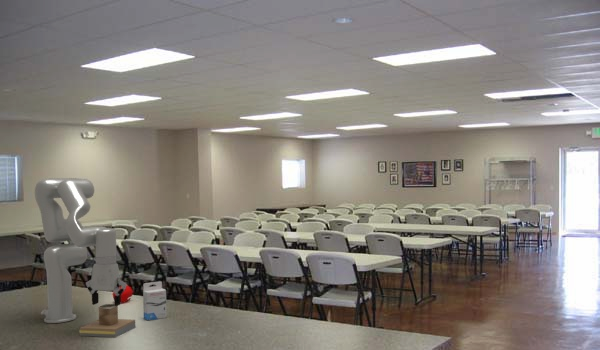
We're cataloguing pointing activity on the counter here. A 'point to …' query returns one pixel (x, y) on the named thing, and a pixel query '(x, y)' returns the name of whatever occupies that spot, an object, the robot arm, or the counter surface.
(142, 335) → the counter surface
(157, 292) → the ink box
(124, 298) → the red animal figurine
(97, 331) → the dock
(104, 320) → the brown wooden block
